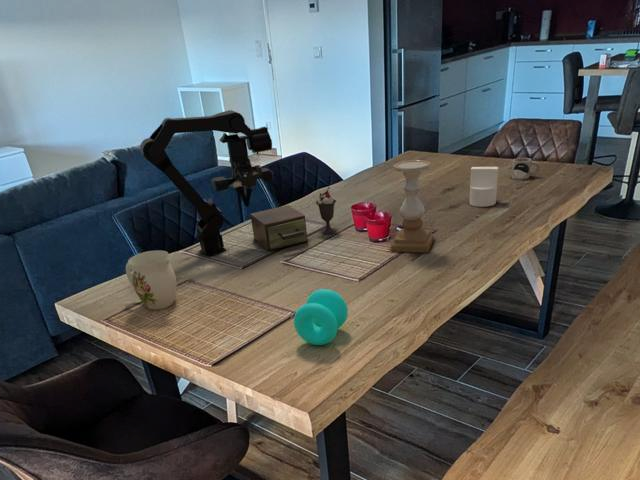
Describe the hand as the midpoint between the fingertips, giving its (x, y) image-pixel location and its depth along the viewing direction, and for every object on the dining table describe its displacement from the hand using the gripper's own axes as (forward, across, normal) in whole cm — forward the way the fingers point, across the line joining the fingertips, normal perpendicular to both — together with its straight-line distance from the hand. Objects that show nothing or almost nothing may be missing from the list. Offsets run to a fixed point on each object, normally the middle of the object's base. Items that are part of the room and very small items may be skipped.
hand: (247, 206), depth 179 cm
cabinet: (+12, +8, -4) cm, 15 cm away
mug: (+12, +113, -1) cm, 114 cm away
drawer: (+11, +8, -8) cm, 16 cm away
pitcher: (+12, -37, -28) cm, 48 cm away
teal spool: (+12, -7, -70) cm, 72 cm away
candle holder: (+12, +39, -35) cm, 54 cm away
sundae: (+12, +25, -7) cm, 28 cm away
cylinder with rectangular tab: (+12, +81, -16) cm, 83 cm away
